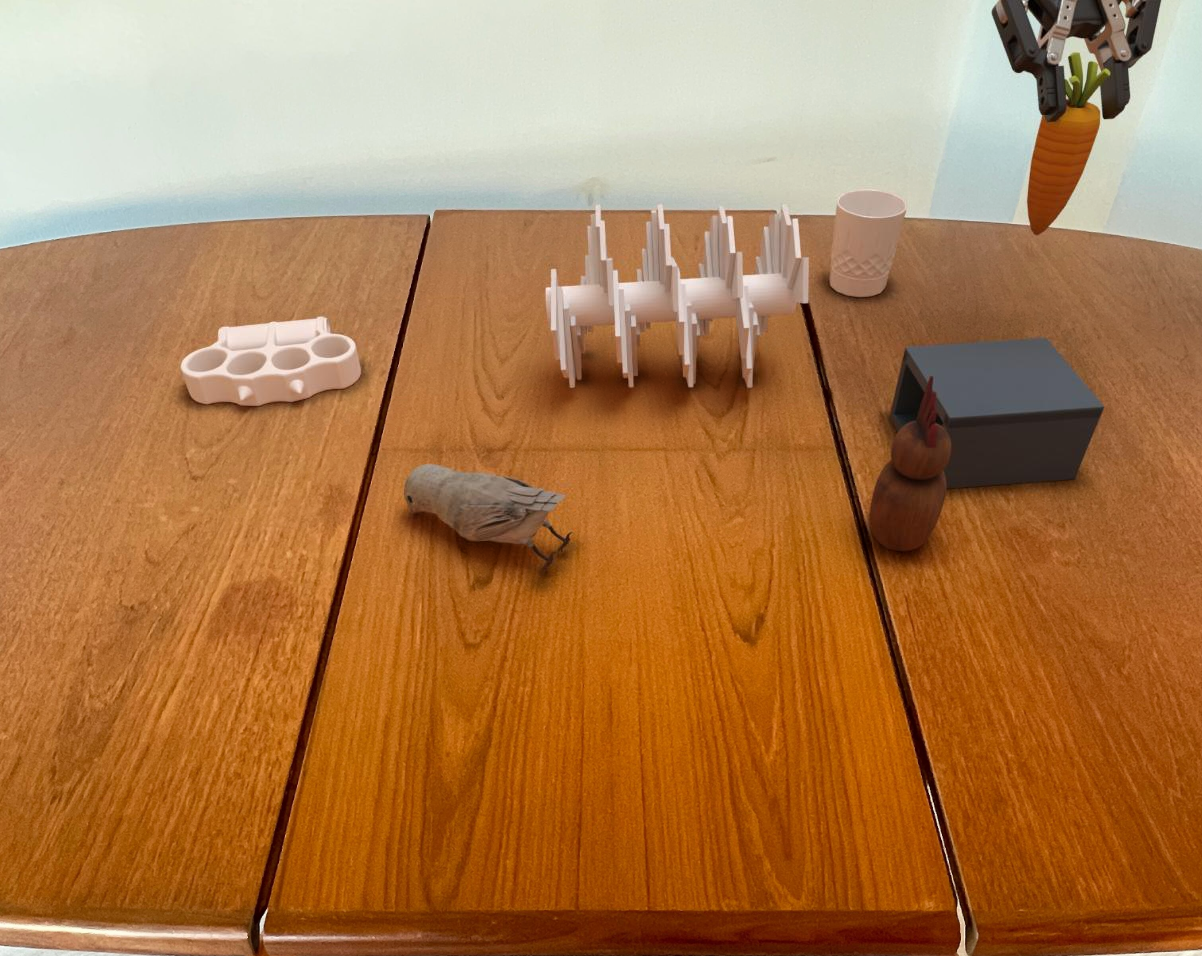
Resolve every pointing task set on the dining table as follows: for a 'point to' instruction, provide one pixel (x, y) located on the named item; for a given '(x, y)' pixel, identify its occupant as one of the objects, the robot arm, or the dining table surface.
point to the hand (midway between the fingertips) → (1085, 115)
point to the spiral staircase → (679, 293)
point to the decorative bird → (483, 505)
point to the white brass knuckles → (271, 363)
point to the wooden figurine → (912, 481)
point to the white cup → (865, 241)
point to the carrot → (1063, 147)
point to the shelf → (1001, 409)
